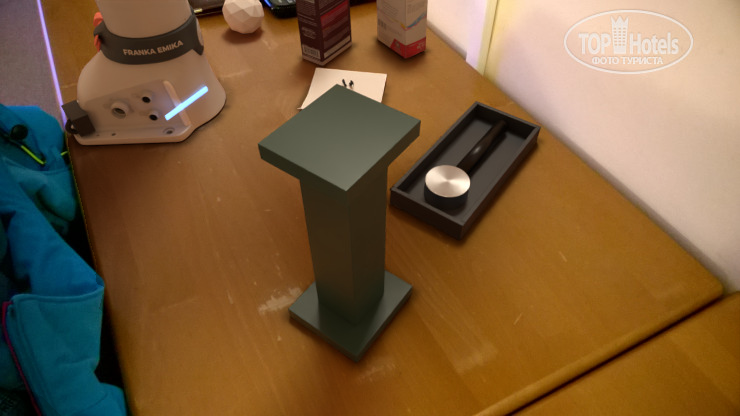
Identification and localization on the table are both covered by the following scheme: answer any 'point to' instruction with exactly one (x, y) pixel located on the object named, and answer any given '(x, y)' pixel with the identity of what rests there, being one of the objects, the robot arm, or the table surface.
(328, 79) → the folded paper
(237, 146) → the table surface
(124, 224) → the table surface
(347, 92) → the stand
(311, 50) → the supplement box
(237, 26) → the ornament
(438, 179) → the scoop
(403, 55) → the ink box
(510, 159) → the tray
